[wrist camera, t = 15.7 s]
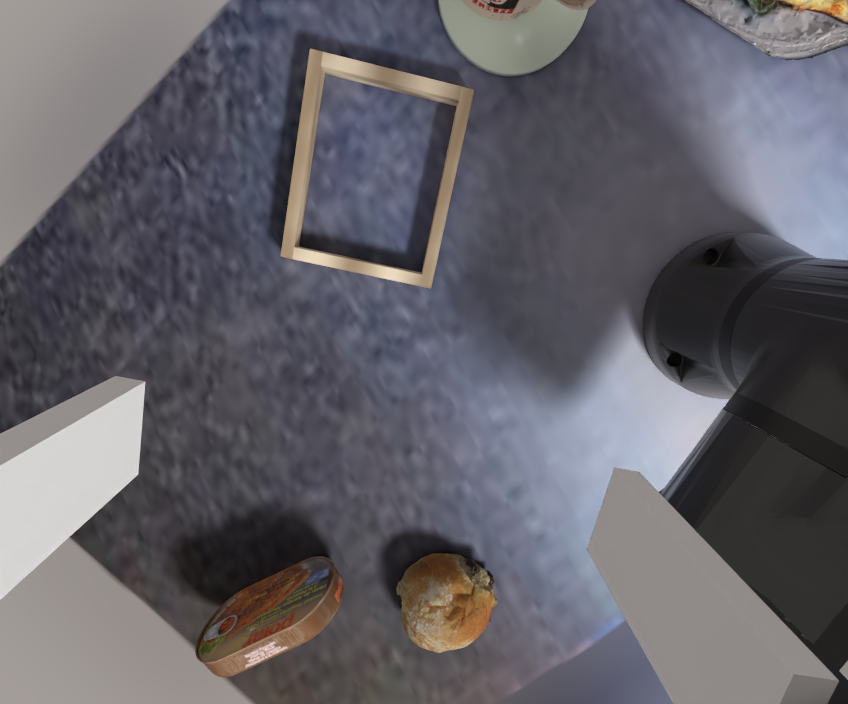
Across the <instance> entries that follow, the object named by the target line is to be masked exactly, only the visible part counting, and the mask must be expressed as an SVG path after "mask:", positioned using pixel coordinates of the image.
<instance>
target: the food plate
mask: <svg viewBox="0 0 848 704" xmlns="http://www.w3.org/2000/svg"><path fill="white" fill-rule="evenodd" d="M685 1H687V2H688V3H689V4H691V5H693V7H696V8H697V9H699V10H701V11H702V12H703V13H705V15H708V16H710V17H711V20H714V21H716V22H717V23H718V24H720V25H722V26H724V27H725V28H727V29H728V30H729V31H731V32H734V33H736V34H737V35H738V36H740V37H741V38H742V39H743V40H745V41H747V42H748V43H751V44H752V45H754V46H755V47H756V48H759V49H760V50H761V51H763V50H764V51H763V53H765V52H766V51H768V53H767V55H769V56H774V57H776V56H777V57H779V58H781V59H784V58H785V59H786V60H792V59H794V60H800V59H805V58H813V57H814V56H816V55H820V54H823V53H826V52H828V51H831V50H834V49H837V48H840V47H843V46H845V45H846V46H847V45H848V0H685ZM765 54H766V53H765Z"/></svg>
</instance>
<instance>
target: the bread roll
mask: <svg viewBox="0 0 848 704" xmlns="http://www.w3.org/2000/svg"><path fill="white" fill-rule="evenodd" d="M493 582H494V579H493V575H492V574H491V573H490V572H489V571H486V570H484V569H483V568H481V567H480V566H479V565H478V564H477V563H475V561H474V560H471V559H466V558H465V557H463V556H461V555H459V554H448V553H446V554H444V553H435V554H429V555H428V556H425V557H423V558H420V560H418V561H417V562H416V563H414V564H413V565H411V566H410V567H409V568H408V569H407V570H406V571H405V573H404V576H403V578H402V579H401V581H399V582H398V585H397V589H396V590H397V595H400V596H401V600H400V608H401V615H402V623H403V626H404V629H405V631H406V633H407V635H408V637H409V638H410V639H411V640H412V641H413V642H414V643H415V644H417V645H418V646H420V647H421V648H424V649H427V650H431V651H434V652H436V653H440V652H444V651H447V650H453V649H459V648H463V647H465V646H468V645H469V644H470V643H472V642H473V641H474V640H475V639H476V638H477V637H478V636H479V635H480V634H482V632H483V631H484V630H485V628H486V627H487V625H488V623H489V622H490V620H491V612H492V609H493V608H494V606H495V605H496V604H497V599H496V598H495V596H494V591H493V585H492V584H493Z"/></svg>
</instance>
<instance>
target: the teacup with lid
mask: <svg viewBox="0 0 848 704" xmlns="http://www.w3.org/2000/svg"><path fill="white" fill-rule="evenodd" d="M462 1H463V2H464V3H465V5H467V6H468V7H469V8H470V9H471V10H472V11H474V12H475V13H477V14H479V15H481V16H483V17H486V18H489V19H493V20H510V19H515V18H518V17H520V16H523V15H525V14H527V13H528V12H530V11H531V10H533V9H534V8H535V7H536V6H537V5H538V4H539V3H540V2H541V1H542V0H462ZM556 1H558V2H559V3H560V4H562V5H563V6H565V7H567V8H569V9H573V10H584V9H587V8H589V7H591V6H592V5H593V4H594V3H595V2H596V1H597V0H556Z"/></svg>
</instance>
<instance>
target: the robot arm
mask: <svg viewBox="0 0 848 704" xmlns="http://www.w3.org/2000/svg"><path fill="white" fill-rule="evenodd" d="M643 330H644V338H645V343H646V347H647V349H648V352H649V354H650V356H651V358H652V360H653V362H654V363H655V365H656V366H657V367H658V369H659V370H660V371H661V372H662V373H663V374H664V375H665V376H666V377H668V378H669V379H670V380H672V381H673V382H675V383H676V384H678V385H680V386H682V387H684V388H685V389H687V390H689V391H691V392H694V393H696V394H699V395H702V396H706V397H710V398H718V399H730V400H729V401H728V403H727V404H726V406H725V407H724V408H723V409H722V410H721V412H720V413H719V414H718V416H717V417H716V419H715V420H714V421H713V423H712V424H711V425H710V427H709V428H708V430H707V431H706V432H705V434H704V435H703V437H702V438H701V439H700V441H699V442H698V444H697V445H696V446H695V448H694V449H693V451H692V452H691V453H690V455H689V456H688V457H687V459H686V460H685V461H684V463H683V464H682V465H681V467H680V468H679V469H678V471H677V472H676V473H675V475H674V476H673V477H672V479H671V480H670V481H669V483H668V484H667V485H666V487H665V488H664V489H662V490H661V491H660V492H658V491H657V490H656V489H655V488H654V487H653V486H652V485H651V484H650V483H649V482H648V481H647V480H646V479H645V477H644V476H643V475H642V474H641V473H640V472H636V471H631V470H625V469H620V468H614V470H613V473H612V476H611V479H610V482H609V485H608V488H607V491H606V494H605V497H604V500H603V503H602V506H601V509H600V512H599V515H598V518H597V521H596V524H595V526H594V529H593V532H592V535H591V538H590V541H589V544H588V547H587V551H588V553H589V554H590V556H591V558H592V560H593V562H594V563H595V565H596V567H597V569H598V570H599V572H600V574H601V576H602V578H603V579H604V581H605V583H606V585H607V587H608V588H609V590H610V592H611V594H612V595H613V597H614V599H615V601H616V603H617V604H618V606H619V608H620V610H621V611H622V613H623V615H624V617H625V619H626V620H627V622H628V624H629V626H630V627H631V629H632V631H633V633H634V635H635V636H636V638H637V640H638V642H639V643H640V645H641V647H642V649H643V650H644V652H645V654H646V656H647V658H648V659H649V661H650V663H651V665H652V667H653V668H654V670H655V672H656V674H657V676H658V677H659V679H660V681H661V683H662V684H663V686H664V688H665V690H666V692H667V693H668V695H669V697H670V699H671V701H672V702H673V704H848V260H837V259H820V258H816V257H814V256H812V255H810V254H808V253H807V252H805V251H803V250H801V249H799V248H797V247H796V246H794V245H792V244H790V243H788V242H786V241H784V240H782V239H780V238H777V237H774V236H770V235H766V234H761V233H737V232H734V233H723V234H718V235H714V236H711V237H708V238H705V239H702V240H700V241H698V242H696V243H694V244H692V245H691V246H689V247H687V248H686V249H685V250H683V251H682V252H680V253H679V254H678V255H677V256H676V257H675V258H674V259H672V260H671V261H670V263H669V264H668V265H667V266H666V267H665V268H664V269H663V271H662V272H661V273H660V275H659V276H658V278H657V280H656V281H655V283H654V285H653V287H652V289H651V291H650V294H649V296H648V299H647V302H646V306H645V311H644V320H643ZM144 392H145V381H139V380H134V379H128V378H123V377H117V376H115V377H113V378H111V379H109V380H107V381H105V382H103V383H101V384H99V385H97V386H95V387H93V388H91V389H89V390H87V391H85V392H83V393H81V394H79V395H77V396H75V397H73V398H71V399H69V400H67V401H65V402H63V403H61V404H59V405H57V406H55V407H53V408H51V409H49V410H47V411H45V412H43V413H41V414H39V415H37V416H35V417H33V418H31V419H29V420H27V421H25V422H23V423H21V424H19V425H17V426H15V427H13V428H11V429H9V430H7V431H5V432H3V433H1V434H0V599H1V598H3V597H4V596H5V595H6V594H7V593H8V592H9V591H10V590H11V589H13V588H14V587H15V586H16V585H17V584H18V583H19V582H20V581H21V580H22V579H24V578H25V577H26V576H27V575H28V574H29V573H30V572H31V571H32V570H33V569H34V568H36V567H37V566H38V565H39V564H40V563H41V562H42V561H43V560H45V559H46V558H47V557H48V556H49V555H50V554H51V553H52V552H53V551H54V550H56V548H58V547H59V546H60V545H61V544H62V543H63V542H64V541H65V540H67V539H68V538H69V537H70V536H71V535H72V534H73V533H74V532H75V531H76V530H78V529H79V528H80V527H81V526H82V525H83V524H84V523H85V522H86V521H87V520H89V519H90V518H91V517H92V516H93V515H94V514H95V513H96V512H97V511H98V510H100V509H101V508H102V507H103V506H104V505H105V504H106V503H107V502H108V501H109V500H111V499H112V498H113V497H114V496H115V495H116V494H117V493H118V492H119V491H120V490H122V489H123V488H124V487H125V486H126V485H127V484H128V483H129V482H130V481H131V480H133V479H134V478H135V477H136V476H137V475H138V470H139V457H140V444H141V431H142V418H143V405H144ZM742 419H743V420H742ZM744 420H745V421H744ZM751 424H752V425H751ZM753 425H754V426H753ZM755 426H756V427H755ZM760 429H761V430H760ZM762 430H763V431H762ZM769 434H770V435H769ZM771 435H772V436H771ZM778 439H779V440H778ZM785 443H786V444H785ZM787 444H788V445H787Z"/></svg>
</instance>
